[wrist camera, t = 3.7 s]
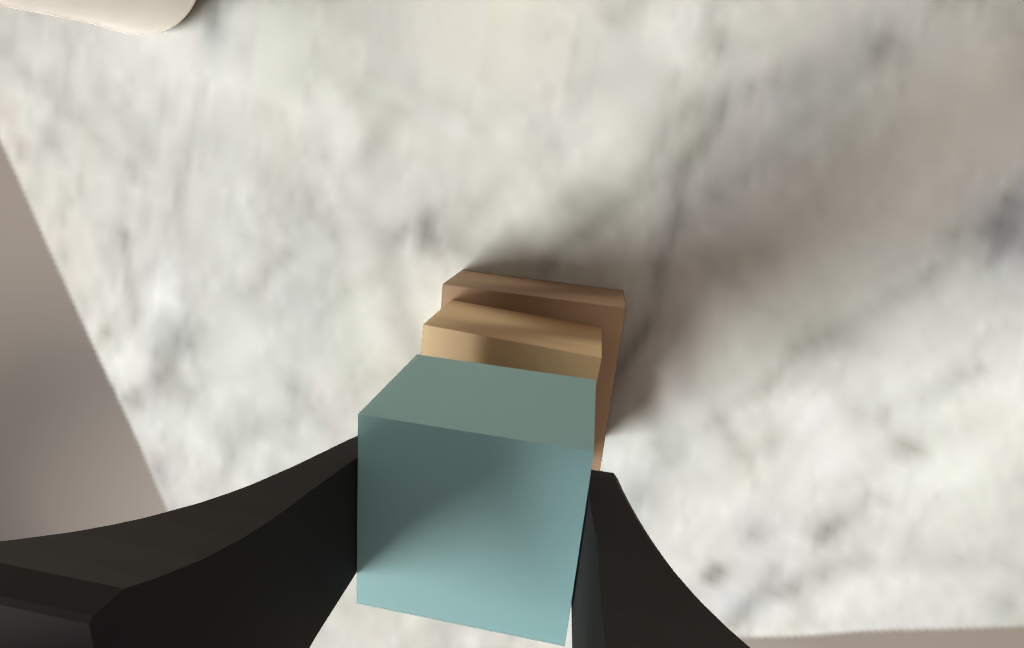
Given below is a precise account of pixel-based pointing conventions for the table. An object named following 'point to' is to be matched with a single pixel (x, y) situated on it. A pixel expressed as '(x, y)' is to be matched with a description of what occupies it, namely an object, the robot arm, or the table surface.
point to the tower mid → (513, 340)
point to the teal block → (475, 495)
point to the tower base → (558, 304)
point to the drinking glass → (113, 12)
